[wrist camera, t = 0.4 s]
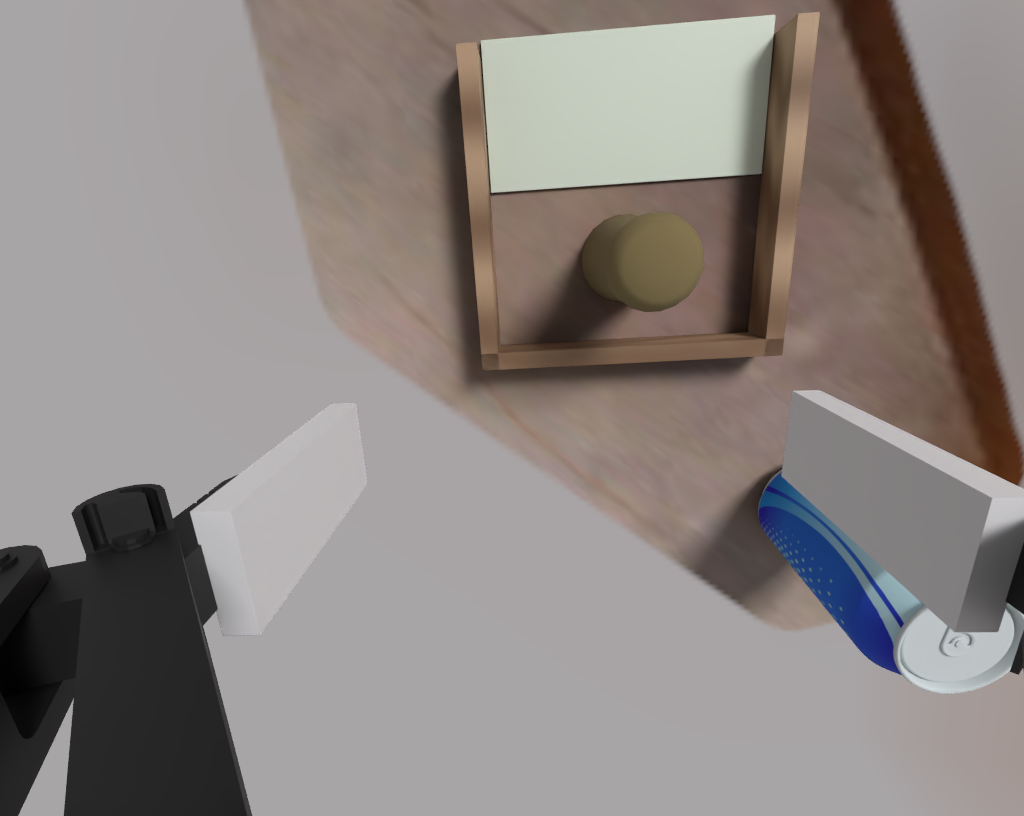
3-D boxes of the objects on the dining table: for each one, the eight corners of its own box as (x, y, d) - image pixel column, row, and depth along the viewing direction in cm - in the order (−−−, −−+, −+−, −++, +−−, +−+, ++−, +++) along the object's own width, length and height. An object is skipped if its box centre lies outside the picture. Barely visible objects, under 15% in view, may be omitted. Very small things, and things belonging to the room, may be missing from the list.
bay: (462, 61, 32) (455, 43, 29) (793, 33, 31) (819, 11, 28) (486, 361, 38) (482, 370, 36) (762, 346, 37) (781, 355, 34)
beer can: (876, 499, 41) (1080, 649, 26) (790, 559, 43) (932, 730, 28) (816, 431, 39) (997, 548, 24) (730, 496, 41) (846, 643, 26)
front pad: (480, 41, 32) (480, 40, 32) (773, 16, 31) (775, 14, 31) (491, 193, 35) (491, 192, 34) (760, 174, 34) (761, 173, 33)
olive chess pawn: (575, 296, 37) (593, 317, 26) (588, 209, 35) (612, 194, 24) (656, 305, 37) (706, 329, 26) (673, 219, 35) (734, 207, 24)
